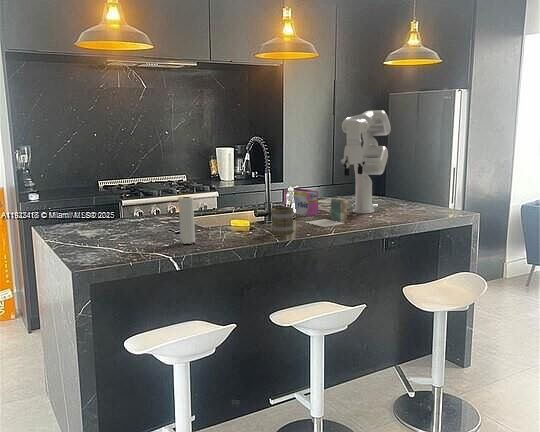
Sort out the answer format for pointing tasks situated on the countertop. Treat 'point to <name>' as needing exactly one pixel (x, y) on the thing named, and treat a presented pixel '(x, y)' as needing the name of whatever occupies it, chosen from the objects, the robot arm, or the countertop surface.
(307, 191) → the gum box
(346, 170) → the robot arm
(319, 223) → the mat
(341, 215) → the sponge
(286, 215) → the mug
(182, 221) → the paper towel roll
